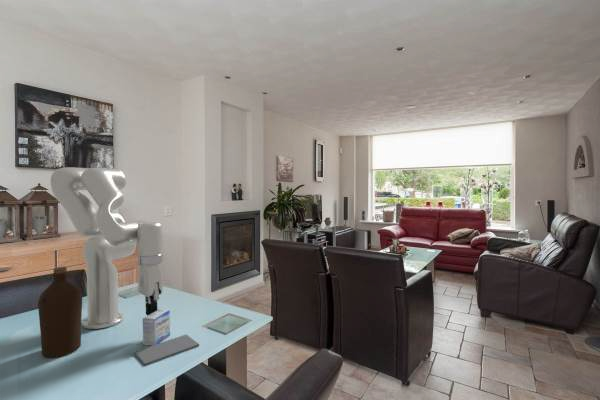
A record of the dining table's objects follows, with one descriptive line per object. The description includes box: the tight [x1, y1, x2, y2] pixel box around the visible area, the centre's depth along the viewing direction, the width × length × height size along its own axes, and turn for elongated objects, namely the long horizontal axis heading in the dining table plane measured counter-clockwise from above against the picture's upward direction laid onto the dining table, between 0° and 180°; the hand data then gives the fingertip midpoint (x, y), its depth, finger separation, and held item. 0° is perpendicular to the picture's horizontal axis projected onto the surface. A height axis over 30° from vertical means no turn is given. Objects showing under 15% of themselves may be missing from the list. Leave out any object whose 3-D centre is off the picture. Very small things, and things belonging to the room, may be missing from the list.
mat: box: [133, 334, 200, 366], centre depth 97 cm, size 9×16×1 cm, turn 134°
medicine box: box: [142, 308, 171, 346], centre depth 103 cm, size 8×4×9 cm, turn 168°
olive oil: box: [37, 266, 83, 359], centre depth 96 cm, size 11×11×25 cm
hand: (151, 314), depth 106 cm, fingers closed
